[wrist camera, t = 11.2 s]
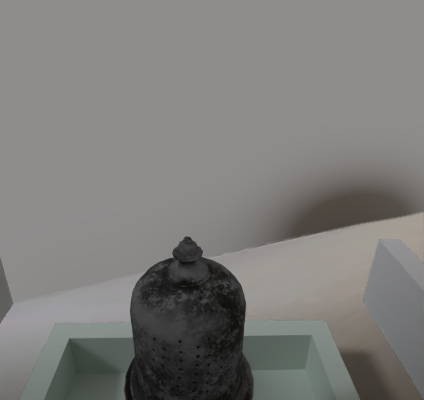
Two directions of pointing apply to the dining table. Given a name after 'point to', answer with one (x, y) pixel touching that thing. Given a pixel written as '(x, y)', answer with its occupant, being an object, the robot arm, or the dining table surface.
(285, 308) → the dining table surface
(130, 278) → the dining table surface
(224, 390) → the salt shaker
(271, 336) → the tray
